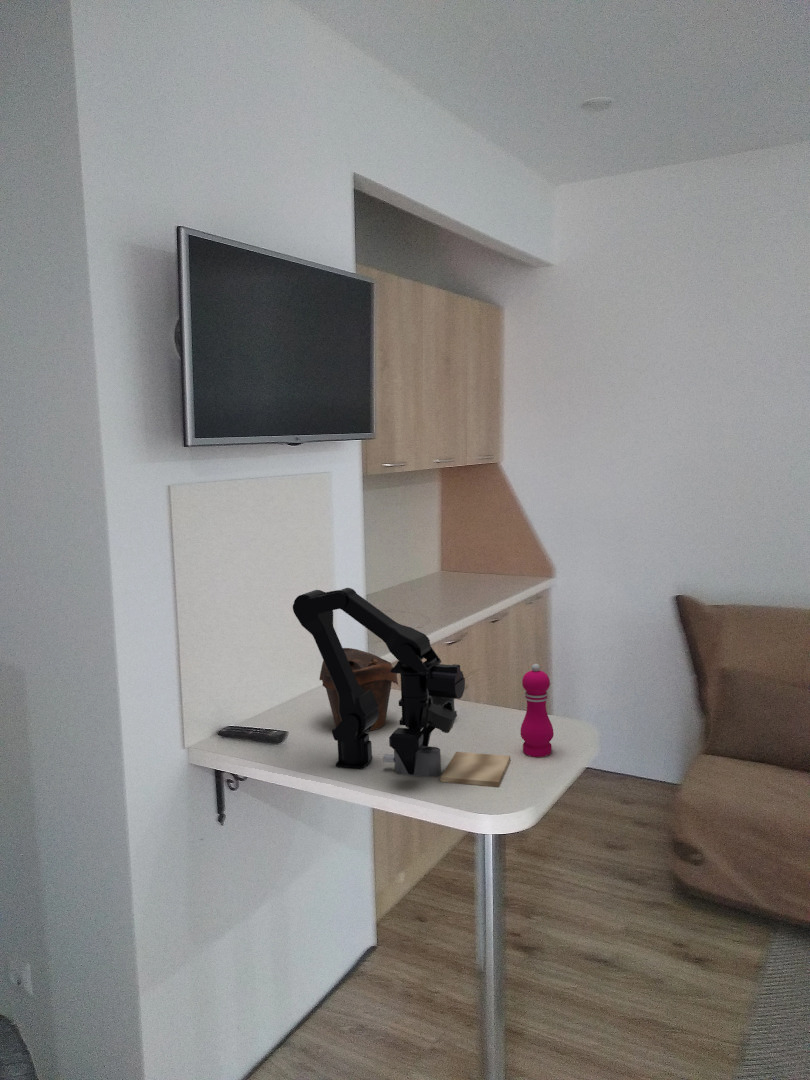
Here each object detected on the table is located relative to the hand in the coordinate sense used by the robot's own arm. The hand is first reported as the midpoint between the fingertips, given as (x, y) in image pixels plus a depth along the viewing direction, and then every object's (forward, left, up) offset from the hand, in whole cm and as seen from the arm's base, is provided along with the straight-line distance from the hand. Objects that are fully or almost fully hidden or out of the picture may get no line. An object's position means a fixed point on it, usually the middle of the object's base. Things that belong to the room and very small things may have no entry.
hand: (417, 765), depth 172 cm
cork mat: (+12, +3, -1) cm, 12 cm away
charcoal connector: (-1, 0, -1) cm, 2 cm away
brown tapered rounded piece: (-22, +26, -2) cm, 34 cm away
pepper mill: (+23, +16, -2) cm, 28 cm away
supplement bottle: (-3, +32, -2) cm, 32 cm away
